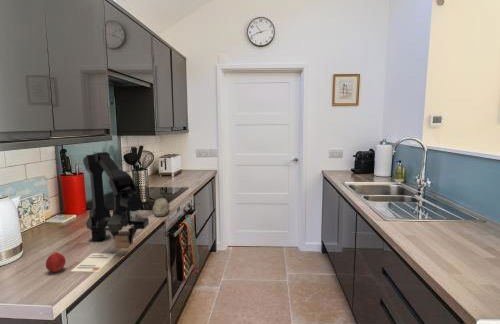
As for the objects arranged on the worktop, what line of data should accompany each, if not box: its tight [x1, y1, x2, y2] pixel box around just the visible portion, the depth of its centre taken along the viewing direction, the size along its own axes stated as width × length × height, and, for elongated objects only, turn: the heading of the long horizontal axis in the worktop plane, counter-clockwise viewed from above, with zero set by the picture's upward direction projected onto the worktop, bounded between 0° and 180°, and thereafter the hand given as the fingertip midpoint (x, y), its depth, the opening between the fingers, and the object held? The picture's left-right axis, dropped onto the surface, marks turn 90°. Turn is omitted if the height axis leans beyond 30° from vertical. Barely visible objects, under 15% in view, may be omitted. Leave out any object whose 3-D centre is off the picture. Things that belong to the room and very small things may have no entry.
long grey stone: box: [152, 197, 170, 217], centre depth 177 cm, size 35×5×10 cm
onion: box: [45, 250, 66, 273], centre depth 100 cm, size 6×6×8 cm
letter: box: [70, 253, 117, 273], centre depth 107 cm, size 14×10×1 cm
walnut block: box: [114, 230, 134, 249], centre depth 112 cm, size 5×5×5 cm
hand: (124, 243), depth 113 cm, fingers closed on walnut block, 5 cm apart
